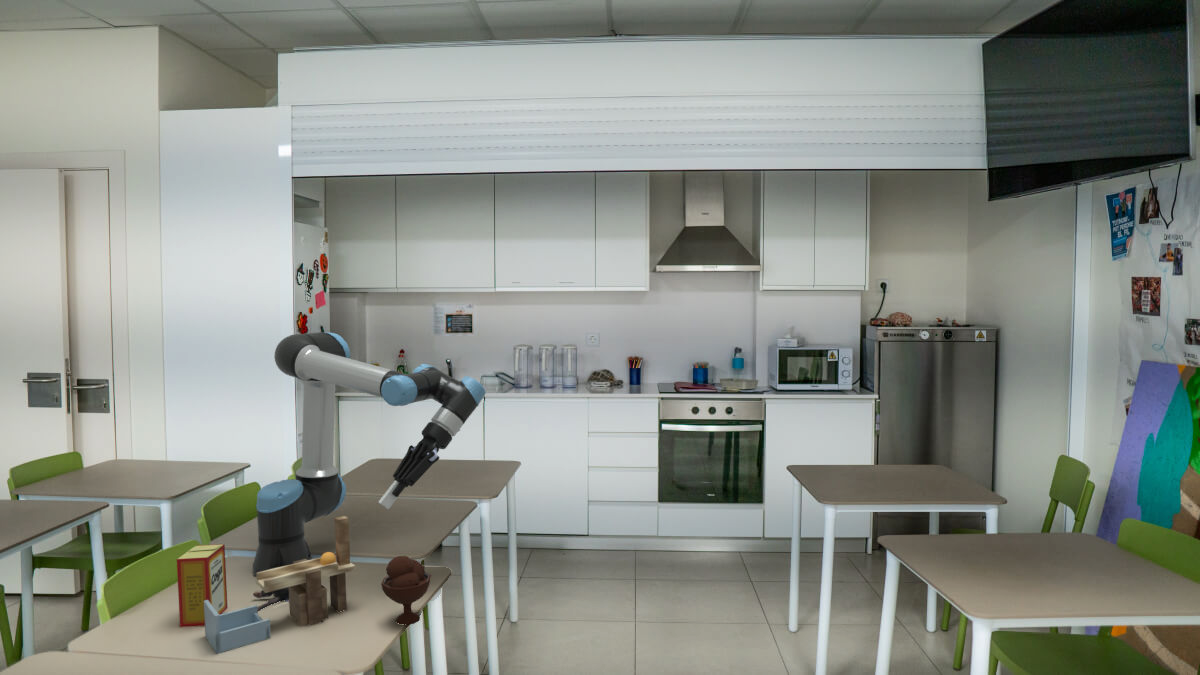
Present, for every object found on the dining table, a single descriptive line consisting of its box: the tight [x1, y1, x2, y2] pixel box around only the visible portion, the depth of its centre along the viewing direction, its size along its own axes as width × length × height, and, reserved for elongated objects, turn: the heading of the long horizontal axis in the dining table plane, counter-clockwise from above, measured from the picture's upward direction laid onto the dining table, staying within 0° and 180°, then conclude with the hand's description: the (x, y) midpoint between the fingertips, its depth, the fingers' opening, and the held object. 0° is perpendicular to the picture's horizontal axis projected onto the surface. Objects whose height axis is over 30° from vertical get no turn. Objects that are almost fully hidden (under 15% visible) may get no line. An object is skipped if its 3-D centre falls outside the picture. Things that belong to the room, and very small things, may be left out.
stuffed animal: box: [252, 587, 289, 612], centre depth 179 cm, size 12×10×12 cm
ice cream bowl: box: [380, 555, 432, 626], centre depth 165 cm, size 11×11×15 cm
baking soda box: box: [176, 543, 228, 628], centre depth 168 cm, size 10×6×16 cm
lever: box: [255, 515, 356, 593], centre depth 167 cm, size 20×7×12 cm, turn 130°
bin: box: [204, 600, 271, 654], centre depth 158 cm, size 11×11×8 cm
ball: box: [320, 551, 336, 566], centre depth 170 cm, size 4×4×4 cm
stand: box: [288, 559, 348, 627], centre depth 169 cm, size 11×10×12 cm
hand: (383, 505), depth 178 cm, fingers closed
